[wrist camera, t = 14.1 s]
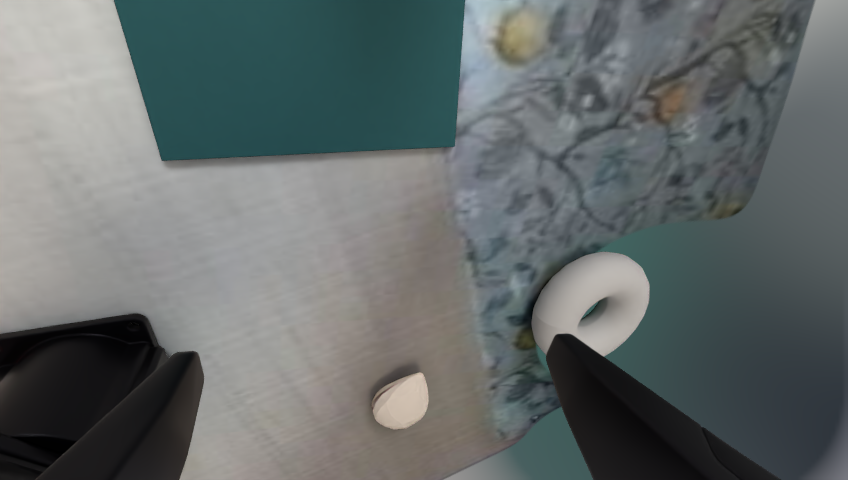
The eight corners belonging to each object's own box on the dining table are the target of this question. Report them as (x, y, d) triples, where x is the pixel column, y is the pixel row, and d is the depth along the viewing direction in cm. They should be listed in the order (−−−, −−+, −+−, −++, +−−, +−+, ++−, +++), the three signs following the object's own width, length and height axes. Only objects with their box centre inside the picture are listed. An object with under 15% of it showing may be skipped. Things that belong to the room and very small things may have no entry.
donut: (618, 319, 34) (633, 227, 29) (649, 345, 31) (672, 248, 26) (523, 359, 32) (521, 268, 27) (547, 391, 29) (550, 296, 24)
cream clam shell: (360, 405, 28) (366, 435, 25) (390, 355, 26) (400, 382, 24) (408, 411, 30) (417, 438, 28) (438, 364, 28) (451, 390, 26)
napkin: (163, 159, 16) (161, 160, 16) (44, -243, 11) (39, -249, 11) (452, 145, 21) (454, 146, 20) (472, -148, 15) (476, -151, 15)
